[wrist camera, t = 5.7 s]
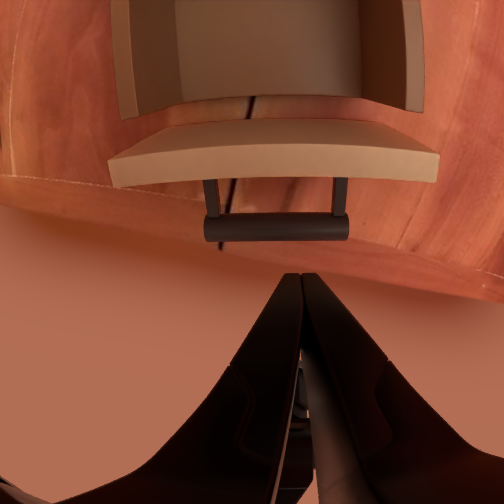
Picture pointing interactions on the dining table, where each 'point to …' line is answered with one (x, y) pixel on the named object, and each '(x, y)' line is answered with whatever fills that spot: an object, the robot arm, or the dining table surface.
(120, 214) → the dining table surface
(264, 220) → the drawer
